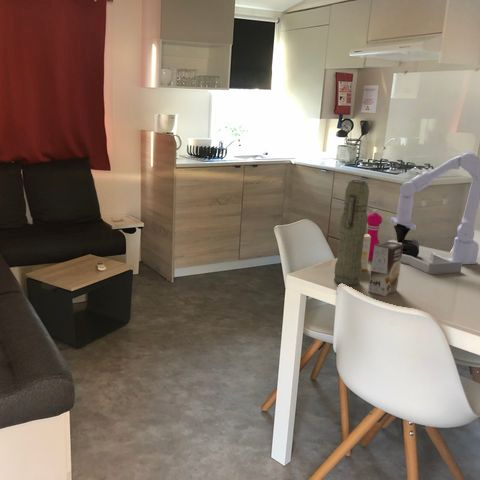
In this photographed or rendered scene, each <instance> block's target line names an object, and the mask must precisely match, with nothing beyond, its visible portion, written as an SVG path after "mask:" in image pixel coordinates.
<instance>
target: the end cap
mask: <svg viewBox="0 0 480 480" xmlns="http://www.w3.org/2000/svg"><path fill="white" fill-rule="evenodd" d="M401 244H402V245H403V252H402V254H405V255H409V256H412V257H415V258H417V257H418V256H419V254H420V243H419V241H418V240H416V239H414V238H412V239H402V243H401Z"/></svg>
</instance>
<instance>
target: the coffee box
mask: <svg viewBox="0 0 480 480" xmlns="http://www.w3.org/2000/svg"><path fill="white" fill-rule="evenodd" d="M402 252H403V245H402V243H398V242H393V241H388V240H386V241H383V242H379V244H376V245H374V253H373V260H371V268H370V277H369V284H368V291H367V292H369V293H373V294H377V295H379V296H382V297H386V296H389V295H390V294H392V293H394V292H396V291H397V290H398V285H399V279H400V278H399V277H400V272H401V263H402V262H401V259H402Z"/></svg>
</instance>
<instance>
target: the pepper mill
mask: <svg viewBox="0 0 480 480" xmlns="http://www.w3.org/2000/svg"><path fill="white" fill-rule="evenodd" d="M367 218H368V220H367V228H366V229H367V232H366V234H369V235H370V237H371V241H370V249H369V258H368V261H372V260H373V253H374V245H376V244H379V243H380V240H379V238H378V237H379V235H378V234H379V231H380V230H381V229H380V228H381V223H382V222H383V217H382V215H381V214H379V213H378V209H373V211H372V212H370V213H369V214H368V215H367Z"/></svg>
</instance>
